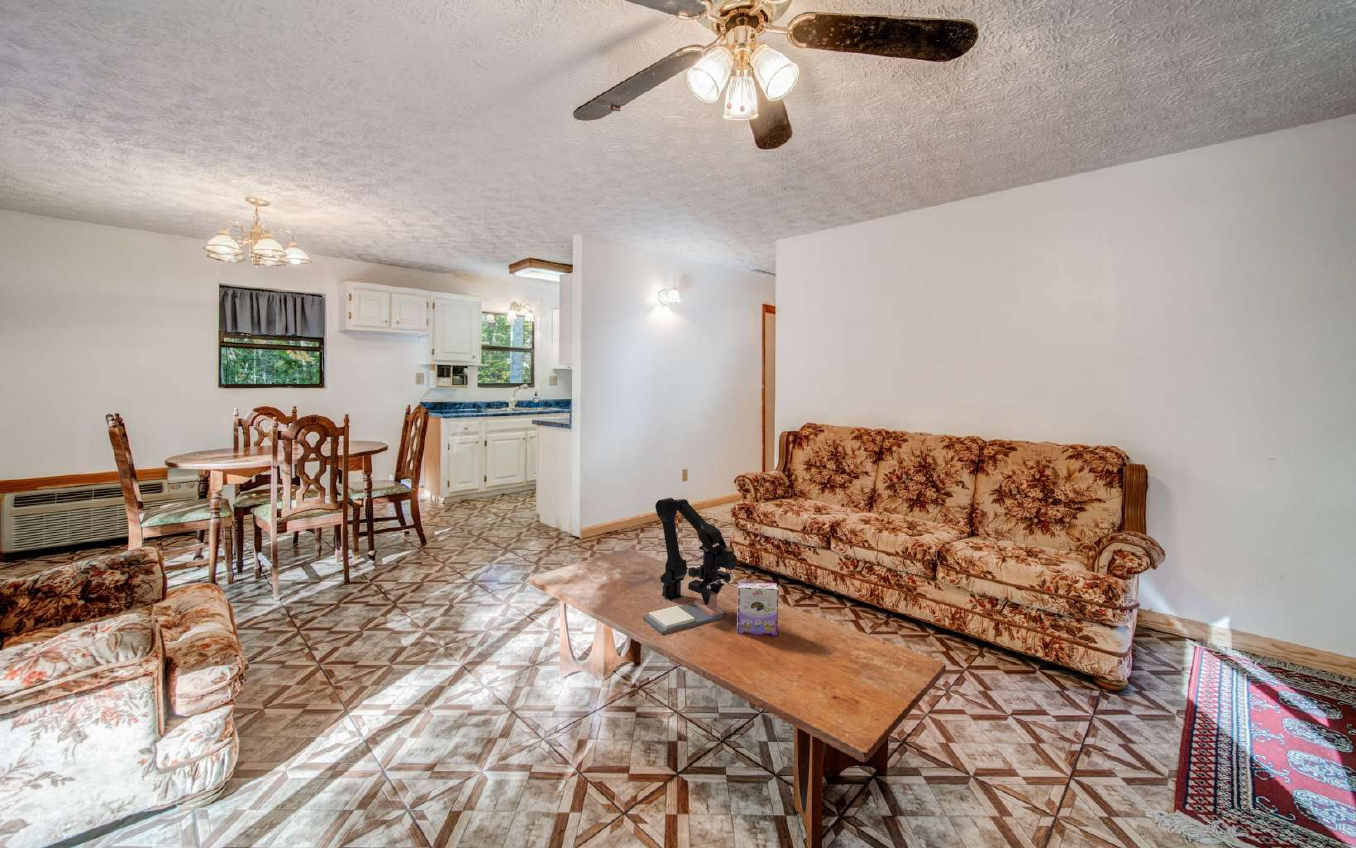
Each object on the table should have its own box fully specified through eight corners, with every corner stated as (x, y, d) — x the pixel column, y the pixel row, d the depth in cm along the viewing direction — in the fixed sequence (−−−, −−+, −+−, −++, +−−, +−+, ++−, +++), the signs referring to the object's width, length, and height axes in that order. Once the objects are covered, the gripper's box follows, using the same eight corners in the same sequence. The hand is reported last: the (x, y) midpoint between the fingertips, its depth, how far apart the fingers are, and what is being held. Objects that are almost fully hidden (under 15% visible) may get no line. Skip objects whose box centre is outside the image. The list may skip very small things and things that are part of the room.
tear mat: (701, 604, 203) (701, 601, 203) (723, 617, 191) (723, 615, 191) (642, 618, 189) (642, 616, 189) (662, 634, 178) (662, 631, 177)
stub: (705, 601, 203) (706, 585, 203) (724, 613, 193) (724, 596, 192) (693, 604, 200) (693, 588, 199) (711, 616, 190) (712, 599, 189)
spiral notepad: (678, 608, 196) (678, 605, 196) (696, 621, 186) (696, 617, 186) (648, 615, 189) (648, 612, 189) (665, 629, 179) (665, 625, 179)
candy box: (776, 628, 184) (777, 582, 183) (777, 636, 178) (779, 589, 177) (736, 625, 185) (737, 580, 184) (736, 633, 179) (738, 587, 178)
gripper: (710, 552, 208) (708, 590, 209) (677, 563, 194) (676, 604, 195) (732, 559, 200) (730, 599, 201) (700, 571, 187) (699, 613, 188)
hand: (709, 603), depth 197 cm, fingers closed on stub, 3 cm apart
